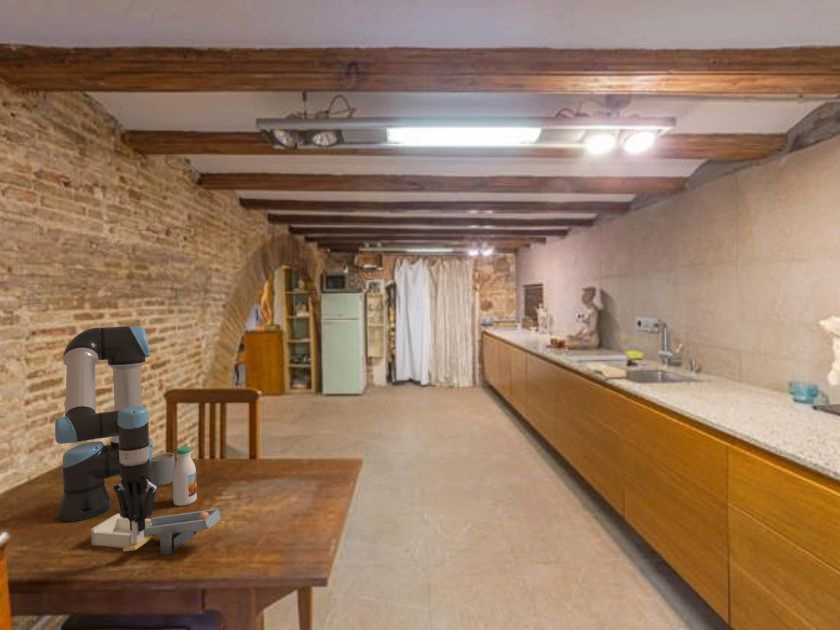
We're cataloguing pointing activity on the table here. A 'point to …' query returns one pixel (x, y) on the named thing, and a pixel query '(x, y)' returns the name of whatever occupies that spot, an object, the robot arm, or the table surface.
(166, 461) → the coffee mug
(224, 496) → the table surface
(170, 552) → the fulcrum
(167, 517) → the lever
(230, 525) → the table surface
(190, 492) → the milk bottle
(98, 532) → the tray
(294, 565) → the table surface
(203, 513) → the ball
